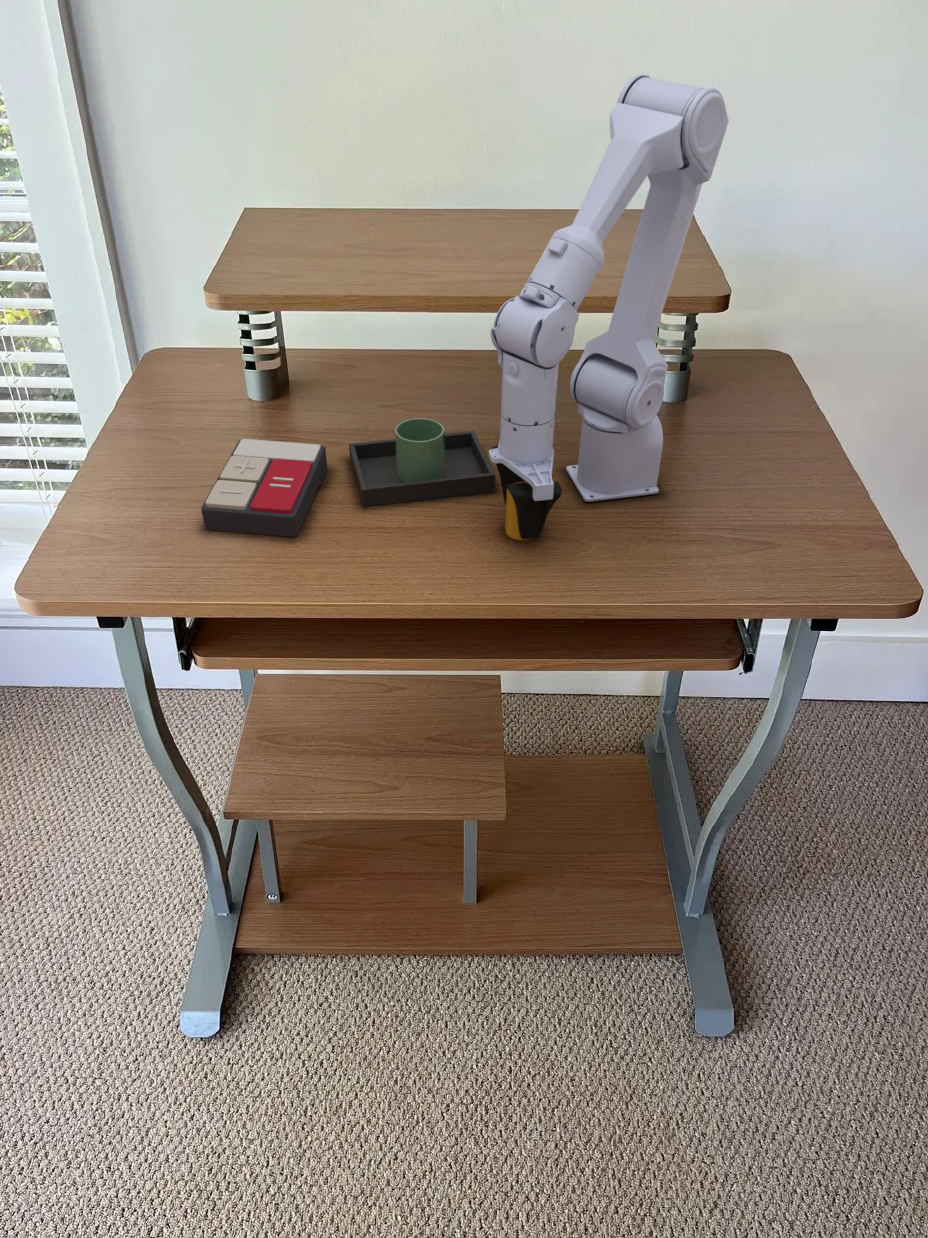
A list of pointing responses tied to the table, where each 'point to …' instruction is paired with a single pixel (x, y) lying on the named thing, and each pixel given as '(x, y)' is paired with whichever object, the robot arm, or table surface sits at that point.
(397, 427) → the green cup
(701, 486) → the table surface
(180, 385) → the table surface
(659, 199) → the robot arm
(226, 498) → the calculator
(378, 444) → the tray
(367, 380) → the table surface
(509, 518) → the mustard cup
